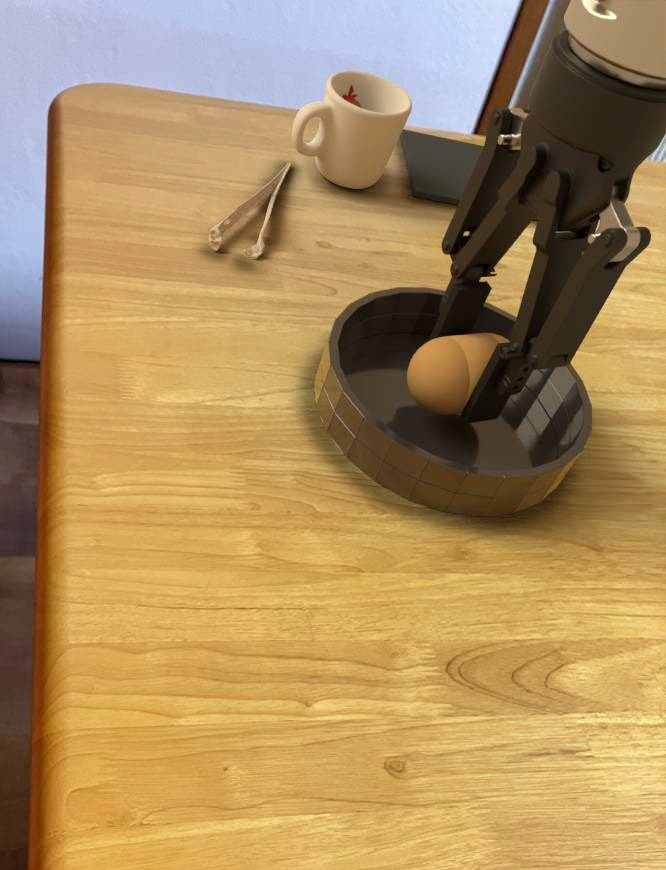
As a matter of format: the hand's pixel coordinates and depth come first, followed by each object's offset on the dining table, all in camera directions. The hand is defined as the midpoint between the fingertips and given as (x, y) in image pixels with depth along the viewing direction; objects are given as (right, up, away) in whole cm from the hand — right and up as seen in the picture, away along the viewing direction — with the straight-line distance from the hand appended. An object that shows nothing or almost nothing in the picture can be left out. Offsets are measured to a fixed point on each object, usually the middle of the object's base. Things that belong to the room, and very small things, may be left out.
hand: (458, 387), depth 63 cm
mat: (+8, +26, +27) cm, 38 cm away
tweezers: (-14, +18, +15) cm, 28 cm away
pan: (-1, -2, +2) cm, 3 cm away
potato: (0, -1, +1) cm, 1 cm away
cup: (-7, +24, +21) cm, 33 cm away
